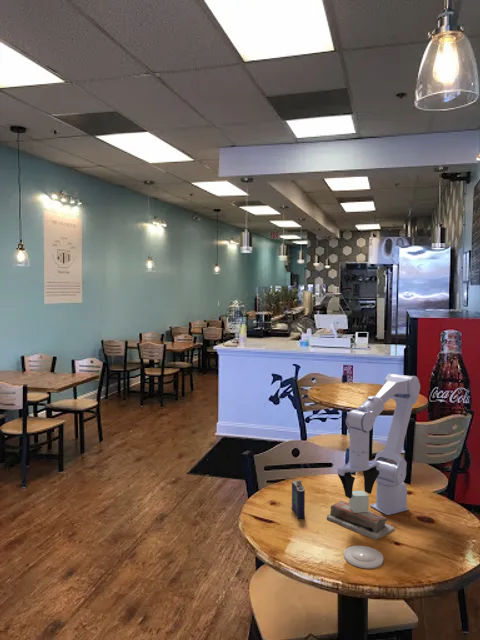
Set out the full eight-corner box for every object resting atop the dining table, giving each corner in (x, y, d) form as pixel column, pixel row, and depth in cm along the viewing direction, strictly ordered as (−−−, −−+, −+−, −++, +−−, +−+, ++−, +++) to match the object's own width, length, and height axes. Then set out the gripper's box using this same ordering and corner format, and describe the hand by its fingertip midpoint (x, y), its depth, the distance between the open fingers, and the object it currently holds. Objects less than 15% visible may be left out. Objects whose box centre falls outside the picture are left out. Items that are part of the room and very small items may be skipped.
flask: (290, 507, 159) (291, 475, 159) (299, 507, 160) (299, 474, 159) (297, 520, 150) (298, 486, 150) (307, 519, 150) (307, 485, 150)
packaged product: (325, 505, 151) (344, 496, 158) (325, 520, 151) (344, 511, 158) (376, 525, 138) (395, 515, 144) (376, 542, 138) (395, 531, 144)
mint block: (362, 506, 150) (363, 490, 150) (368, 511, 146) (368, 495, 146) (349, 507, 150) (349, 491, 149) (354, 512, 146) (354, 496, 145)
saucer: (364, 545, 135) (365, 541, 135) (391, 562, 126) (391, 558, 126) (336, 553, 130) (336, 549, 130) (361, 572, 121) (361, 567, 121)
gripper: (368, 443, 154) (367, 486, 154) (331, 449, 147) (330, 494, 148) (384, 449, 148) (383, 494, 148) (346, 456, 141) (346, 502, 141)
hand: (358, 494), depth 148 cm, fingers open, 7 cm apart
